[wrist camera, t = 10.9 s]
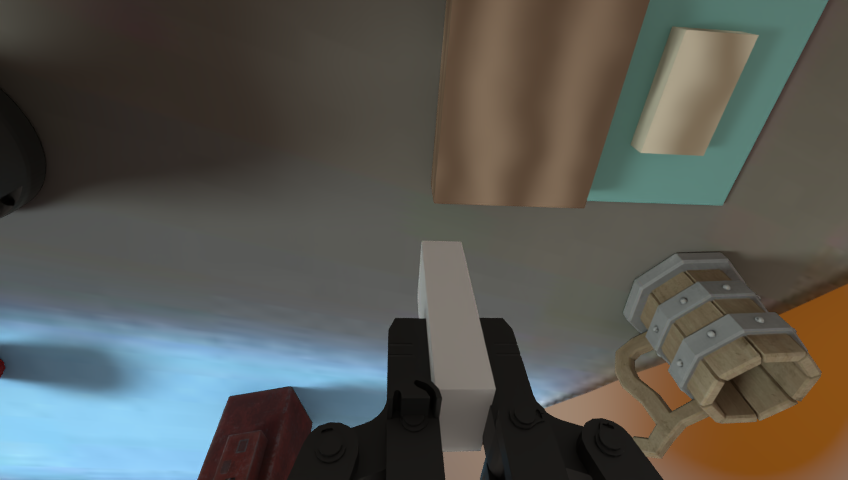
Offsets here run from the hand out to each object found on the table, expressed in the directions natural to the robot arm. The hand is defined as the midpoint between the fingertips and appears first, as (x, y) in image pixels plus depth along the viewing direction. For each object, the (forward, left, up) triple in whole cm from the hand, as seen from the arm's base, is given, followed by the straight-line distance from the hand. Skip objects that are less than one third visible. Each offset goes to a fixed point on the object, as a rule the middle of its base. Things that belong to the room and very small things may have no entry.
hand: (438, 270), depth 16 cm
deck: (+9, +2, -24) cm, 26 cm away
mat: (+25, +2, -24) cm, 35 cm away
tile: (+23, +2, -22) cm, 32 cm away
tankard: (+31, -24, -25) cm, 46 cm away
